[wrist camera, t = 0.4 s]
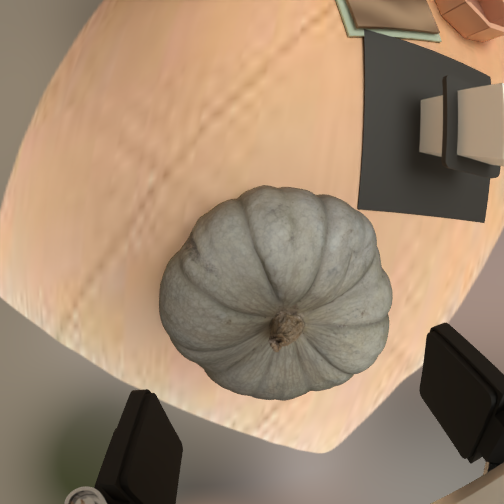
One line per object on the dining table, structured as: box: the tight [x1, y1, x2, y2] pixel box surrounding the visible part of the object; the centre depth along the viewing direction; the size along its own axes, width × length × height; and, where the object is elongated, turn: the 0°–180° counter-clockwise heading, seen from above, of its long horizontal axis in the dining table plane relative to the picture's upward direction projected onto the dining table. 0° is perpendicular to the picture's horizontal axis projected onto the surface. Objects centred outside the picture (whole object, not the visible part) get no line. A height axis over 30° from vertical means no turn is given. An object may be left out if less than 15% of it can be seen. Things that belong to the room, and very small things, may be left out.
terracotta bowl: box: [435, 0, 504, 42], centre depth 26 cm, size 13×13×7 cm
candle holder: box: [358, 29, 504, 223], centre depth 27 cm, size 25×24×16 cm
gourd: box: [159, 185, 392, 400], centre depth 33 cm, size 25×25×17 cm
